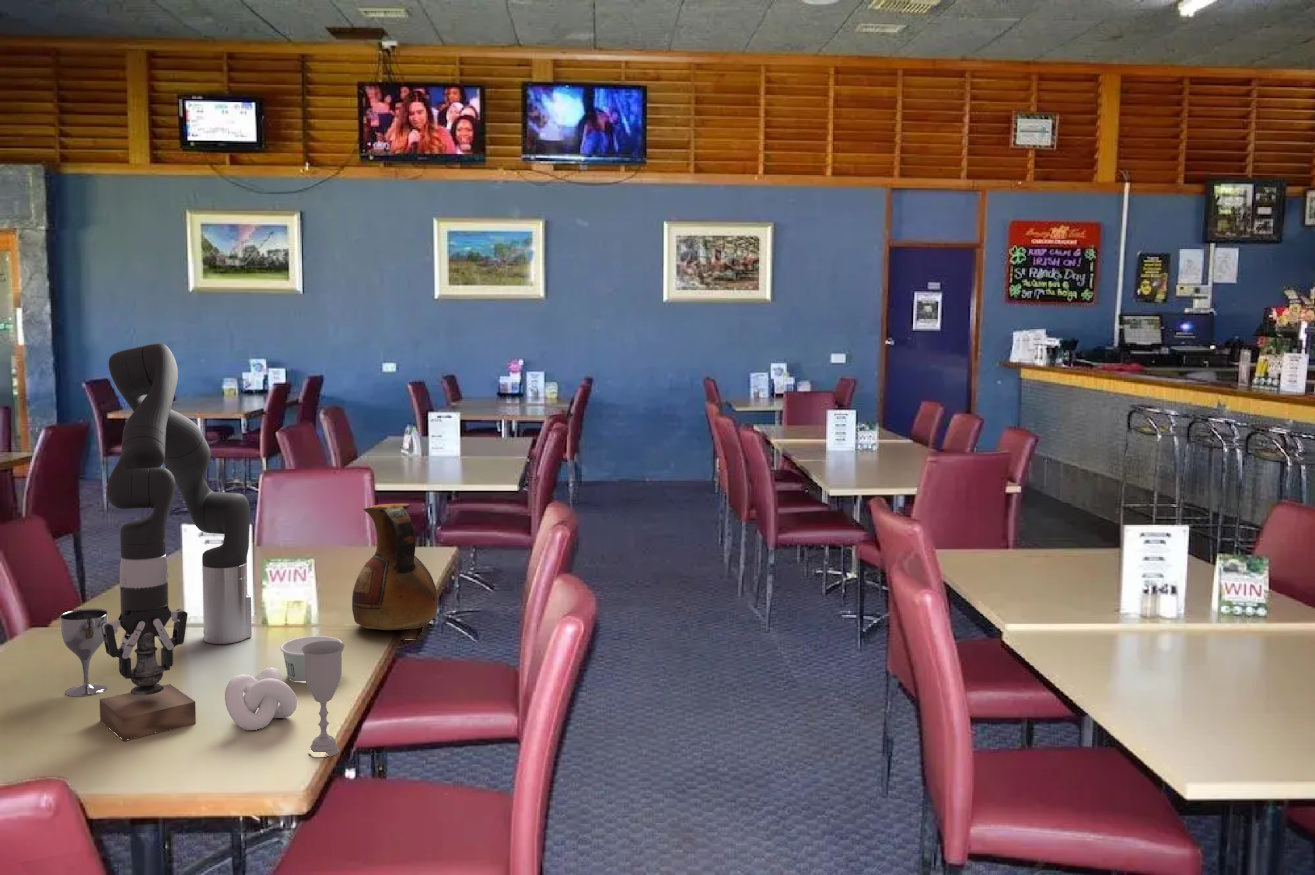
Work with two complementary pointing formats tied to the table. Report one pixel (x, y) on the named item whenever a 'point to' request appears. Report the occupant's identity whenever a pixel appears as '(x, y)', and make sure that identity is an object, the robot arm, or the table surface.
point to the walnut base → (147, 712)
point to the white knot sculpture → (259, 699)
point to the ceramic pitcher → (394, 576)
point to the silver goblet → (84, 643)
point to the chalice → (323, 685)
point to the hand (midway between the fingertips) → (146, 673)
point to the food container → (299, 655)
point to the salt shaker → (146, 668)
